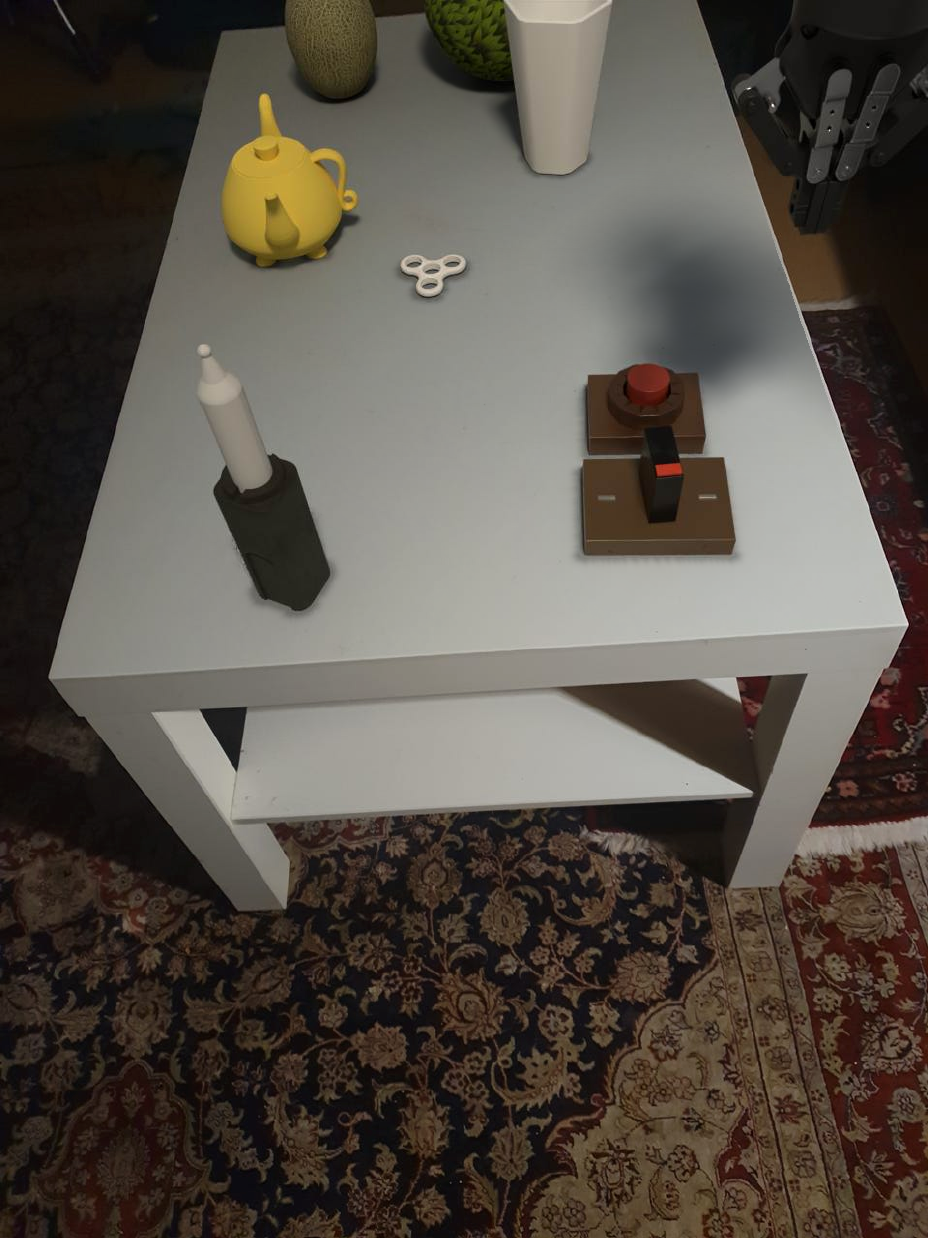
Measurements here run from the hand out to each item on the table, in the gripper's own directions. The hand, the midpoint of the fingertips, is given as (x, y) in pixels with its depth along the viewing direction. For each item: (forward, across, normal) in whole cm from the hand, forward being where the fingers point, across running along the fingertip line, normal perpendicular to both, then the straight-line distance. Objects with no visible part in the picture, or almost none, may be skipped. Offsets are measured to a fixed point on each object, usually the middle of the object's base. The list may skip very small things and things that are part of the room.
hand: (808, 226), depth 58 cm
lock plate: (+25, +8, +2) cm, 26 cm away
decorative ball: (+25, +14, -74) cm, 79 cm away
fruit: (+25, +36, -73) cm, 85 cm away
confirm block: (+25, +7, -9) cm, 27 cm away
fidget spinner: (+25, +25, -32) cm, 48 cm away
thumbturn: (+23, +8, +2) cm, 24 cm away
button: (+21, +7, -9) cm, 24 cm away
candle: (+25, +38, +6) cm, 46 cm away
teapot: (+25, +40, -42) cm, 63 cm away
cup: (+25, +10, -53) cm, 59 cm away
